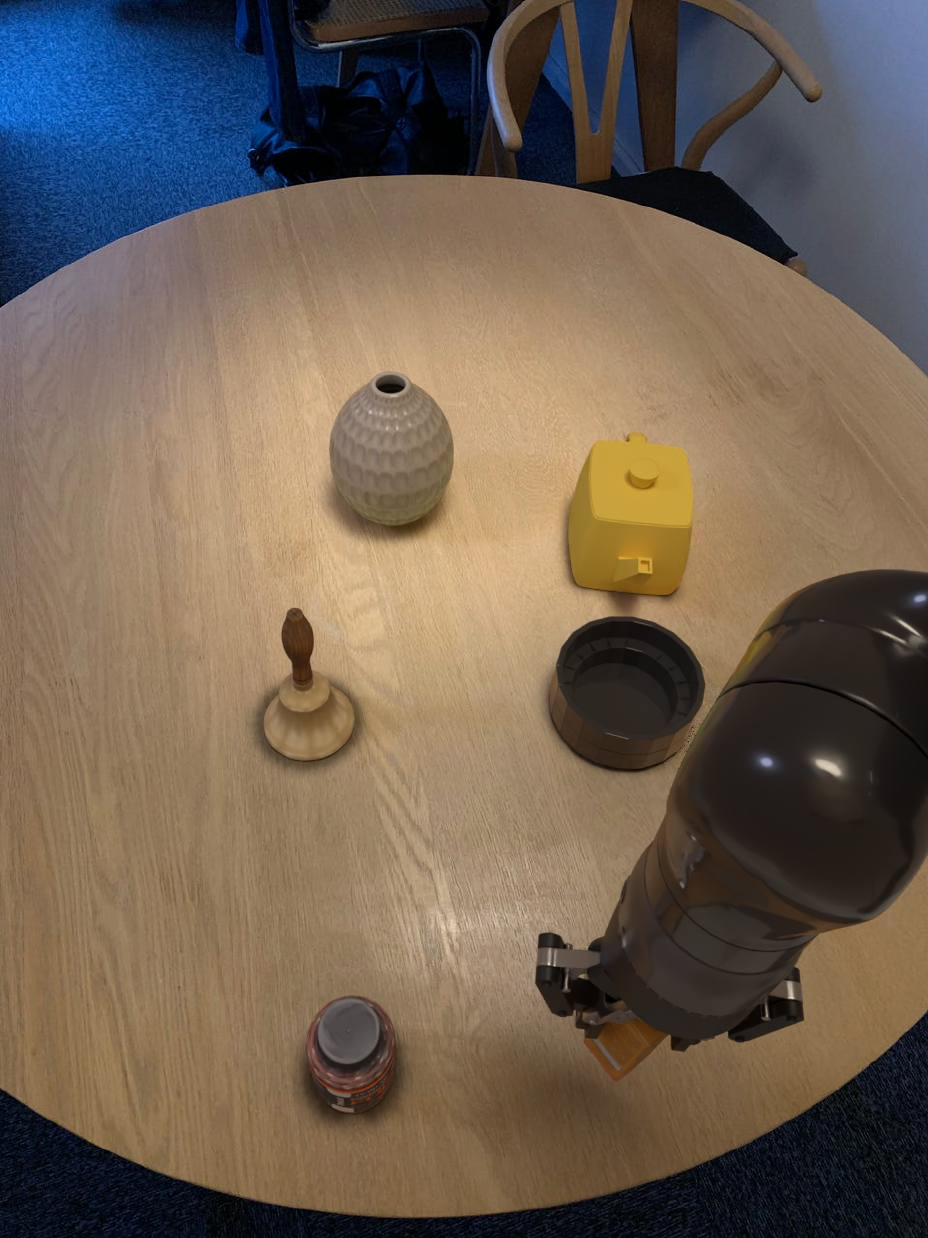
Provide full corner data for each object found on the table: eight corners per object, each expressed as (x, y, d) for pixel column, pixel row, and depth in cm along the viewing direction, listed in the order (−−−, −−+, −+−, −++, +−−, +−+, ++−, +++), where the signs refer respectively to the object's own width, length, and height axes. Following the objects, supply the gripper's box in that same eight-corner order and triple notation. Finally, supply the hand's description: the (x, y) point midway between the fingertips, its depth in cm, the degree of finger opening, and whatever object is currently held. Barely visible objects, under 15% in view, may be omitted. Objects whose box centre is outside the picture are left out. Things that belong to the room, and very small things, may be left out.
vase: (426, 453, 108) (428, 330, 94) (469, 531, 101) (478, 410, 87) (319, 480, 104) (306, 356, 91) (356, 562, 97) (347, 441, 84)
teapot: (686, 634, 94) (717, 557, 84) (563, 622, 94) (580, 543, 84) (676, 492, 106) (702, 411, 96) (567, 482, 106) (582, 400, 97)
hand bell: (278, 677, 88) (256, 567, 76) (363, 691, 88) (356, 583, 75) (252, 753, 83) (224, 650, 71) (343, 768, 83) (331, 667, 70)
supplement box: (617, 1090, 58) (646, 1050, 50) (581, 1041, 59) (603, 996, 51) (656, 1055, 59) (691, 1012, 51) (619, 1009, 61) (648, 960, 53)
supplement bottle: (359, 1135, 66) (351, 1104, 57) (297, 1078, 68) (280, 1040, 59) (413, 1062, 69) (413, 1022, 60) (351, 1010, 71) (343, 963, 62)
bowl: (717, 723, 88) (735, 688, 83) (615, 799, 82) (628, 767, 77) (620, 631, 94) (632, 594, 89) (520, 697, 88) (526, 661, 83)
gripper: (537, 989, 39) (507, 1078, 53) (879, 1037, 39) (760, 1115, 52) (549, 826, 44) (518, 947, 58) (855, 867, 43) (751, 979, 57)
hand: (634, 1026), depth 55 cm, fingers closed on supplement box, 4 cm apart
